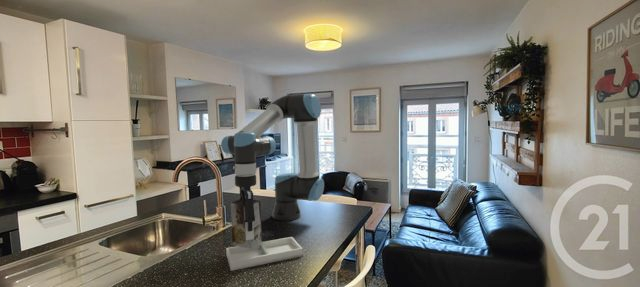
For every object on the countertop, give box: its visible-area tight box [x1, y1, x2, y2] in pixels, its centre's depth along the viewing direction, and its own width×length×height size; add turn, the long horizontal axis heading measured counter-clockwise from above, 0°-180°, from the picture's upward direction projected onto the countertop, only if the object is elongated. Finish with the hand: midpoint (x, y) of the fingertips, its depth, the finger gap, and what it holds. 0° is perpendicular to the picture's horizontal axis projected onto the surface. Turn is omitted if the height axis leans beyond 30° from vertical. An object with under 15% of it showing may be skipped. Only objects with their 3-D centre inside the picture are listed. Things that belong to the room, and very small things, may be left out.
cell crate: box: [225, 236, 304, 272], centre depth 111 cm, size 13×26×3 cm, turn 114°
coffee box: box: [230, 199, 263, 249], centre depth 108 cm, size 9×6×16 cm
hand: (246, 233), depth 108 cm, fingers closed on coffee box, 11 cm apart
